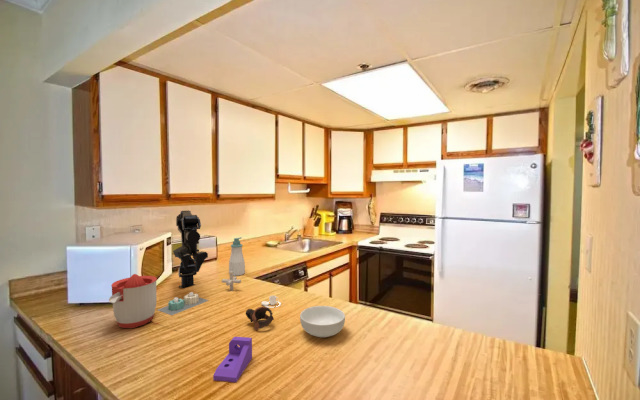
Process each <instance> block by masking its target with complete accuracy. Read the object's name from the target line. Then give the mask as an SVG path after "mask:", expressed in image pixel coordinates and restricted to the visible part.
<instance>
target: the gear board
mask: <svg viewBox="0 0 640 400" xmlns="http://www.w3.org/2000/svg"><path fill="white" fill-rule="evenodd" d="M193 294H194V292H192V291H191V292H189V293H188V295H189V297H193ZM178 299H179V297H177V296H176V297H174V298H173V300H174V303H176V302H178ZM209 301H210V300H209V299H206V298H202V297H199V302H197V303H196V304H191V305H189V304H186V305H185V303H184V306H183V307H184V308H183V309H182V308H181V309H179V310H173V311H171V310H168V305H166V306H163V307H161V308H157V311H159V312H160V313H164V314H167V315H169V316H174V315H176V314H179V313H181V312H185V311H186V310H189V309H191V308H193V307H196V306H199V305H201V304H204V303H206V302H209Z"/></svg>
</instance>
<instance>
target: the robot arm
mask: <svg viewBox="0 0 640 400" xmlns="http://www.w3.org/2000/svg"><path fill="white" fill-rule="evenodd" d="M175 225H176V227H177V230H178V231H179V233H180V239H181V246H180V247H177V248H176V249H174V250H172V253H173V254H174V257H175V258H178V259H179V260H180V263H179V266H178V278H181V279H180V281H181V282H180V283H181V284H180V285H178V287H179V288H180V289H182V288H183V289H186V288H190V287H193V286H197V285H196V284H194V283H195V282H194V276H196V275H197V273H199V272H200V270H201V268H202V265H203V263H204V262H205V260H206V259H208V257H209V253H208V252H207V251H203V250H202V251H200V249H198V244H199V243H200V242H199V241H201V240H200V239H201V234H200V233H199V232H198V230H200V229H201V227H202V224H201V219H200V217H198V215H197V214H192V213H191V210H180V214H178V215H177V216H176V219H175Z"/></svg>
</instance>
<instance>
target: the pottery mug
mask: <svg viewBox="0 0 640 400" xmlns="http://www.w3.org/2000/svg"><path fill="white" fill-rule="evenodd" d="M267 312H269V315H268V314H266V313H267ZM245 315H246V318H248V319H249V320H250V323H253V324H254V327H253V330H255V331H259V330H260V329H263V328H266V327H268V326H269V325H270V324H271V323H272V321H273V320H275V319H274V316H273V315H274V313H273V312H272V310H271V308H268V307H265V306H259V307H257V308H255V309H253V308H248V309H246V311H245Z"/></svg>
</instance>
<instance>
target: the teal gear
mask: <svg viewBox="0 0 640 400" xmlns="http://www.w3.org/2000/svg"><path fill="white" fill-rule="evenodd" d="M167 306H168V310H171V311H173V310H179V309H181V308H182V309H183V308H184V307H183V306H184V298H183V299H182V298H178V302H176V303H174V299H172V300H169V301H168V303H167Z"/></svg>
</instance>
